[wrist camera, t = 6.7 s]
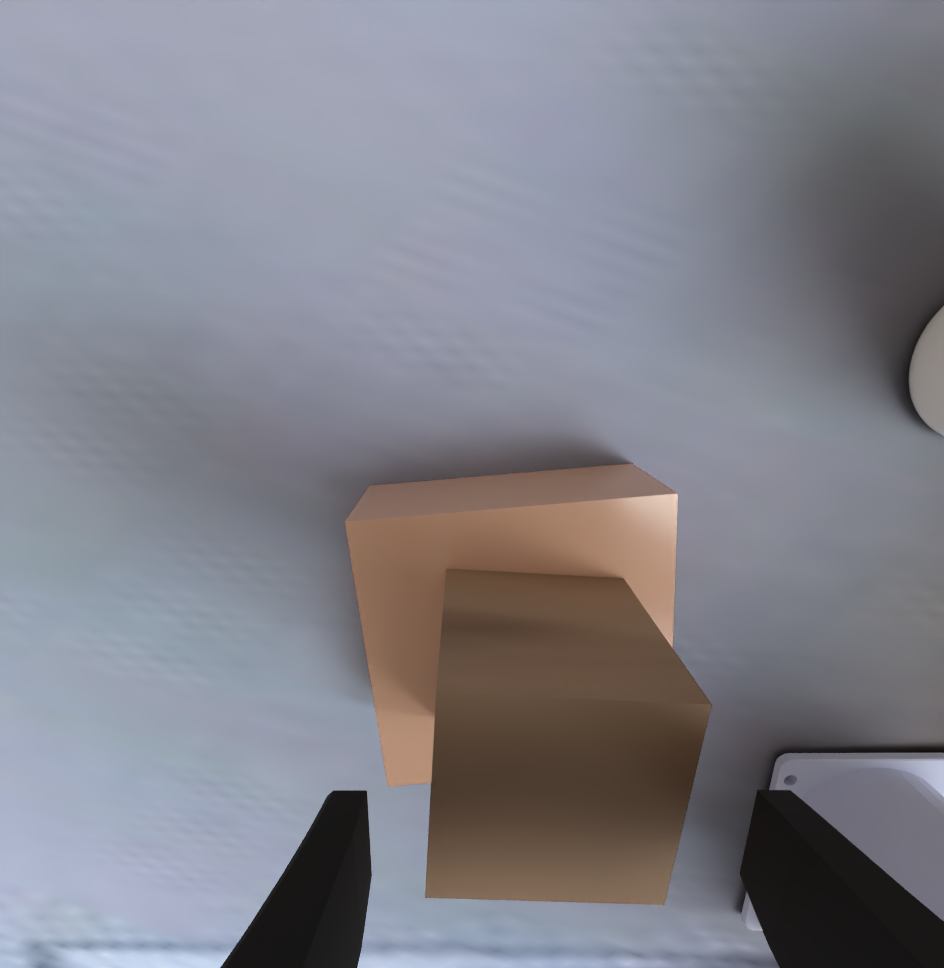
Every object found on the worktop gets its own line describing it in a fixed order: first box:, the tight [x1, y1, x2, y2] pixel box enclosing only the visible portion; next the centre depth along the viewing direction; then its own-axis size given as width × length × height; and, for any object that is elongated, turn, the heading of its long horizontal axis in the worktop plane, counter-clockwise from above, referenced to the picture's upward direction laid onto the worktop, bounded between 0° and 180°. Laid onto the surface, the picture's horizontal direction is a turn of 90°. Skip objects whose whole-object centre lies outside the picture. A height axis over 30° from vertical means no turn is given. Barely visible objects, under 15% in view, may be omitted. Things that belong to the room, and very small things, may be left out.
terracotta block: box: [345, 463, 678, 786], centre depth 16 cm, size 9×9×4 cm
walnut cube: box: [425, 569, 712, 905], centre depth 12 cm, size 5×5×5 cm
